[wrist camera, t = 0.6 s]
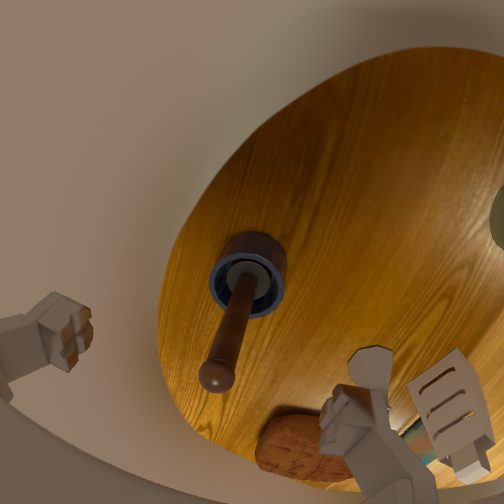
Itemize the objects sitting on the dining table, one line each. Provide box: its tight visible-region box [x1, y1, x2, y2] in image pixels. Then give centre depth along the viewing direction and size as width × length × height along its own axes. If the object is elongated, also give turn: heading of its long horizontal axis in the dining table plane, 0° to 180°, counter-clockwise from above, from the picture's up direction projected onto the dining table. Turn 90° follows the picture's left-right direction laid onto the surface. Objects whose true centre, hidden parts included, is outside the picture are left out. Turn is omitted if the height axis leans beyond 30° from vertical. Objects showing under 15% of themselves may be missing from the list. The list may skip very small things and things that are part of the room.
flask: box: [348, 346, 393, 417], centre depth 36 cm, size 7×7×10 cm
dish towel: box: [401, 418, 461, 466], centre depth 49 cm, size 17×23×2 cm
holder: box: [209, 232, 287, 319], centre depth 34 cm, size 8×8×6 cm
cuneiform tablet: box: [255, 414, 353, 482], centre depth 46 cm, size 22×17×8 cm
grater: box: [406, 347, 496, 485], centre depth 32 cm, size 10×10×20 cm
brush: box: [199, 258, 272, 393], centre depth 28 cm, size 5×5×19 cm
